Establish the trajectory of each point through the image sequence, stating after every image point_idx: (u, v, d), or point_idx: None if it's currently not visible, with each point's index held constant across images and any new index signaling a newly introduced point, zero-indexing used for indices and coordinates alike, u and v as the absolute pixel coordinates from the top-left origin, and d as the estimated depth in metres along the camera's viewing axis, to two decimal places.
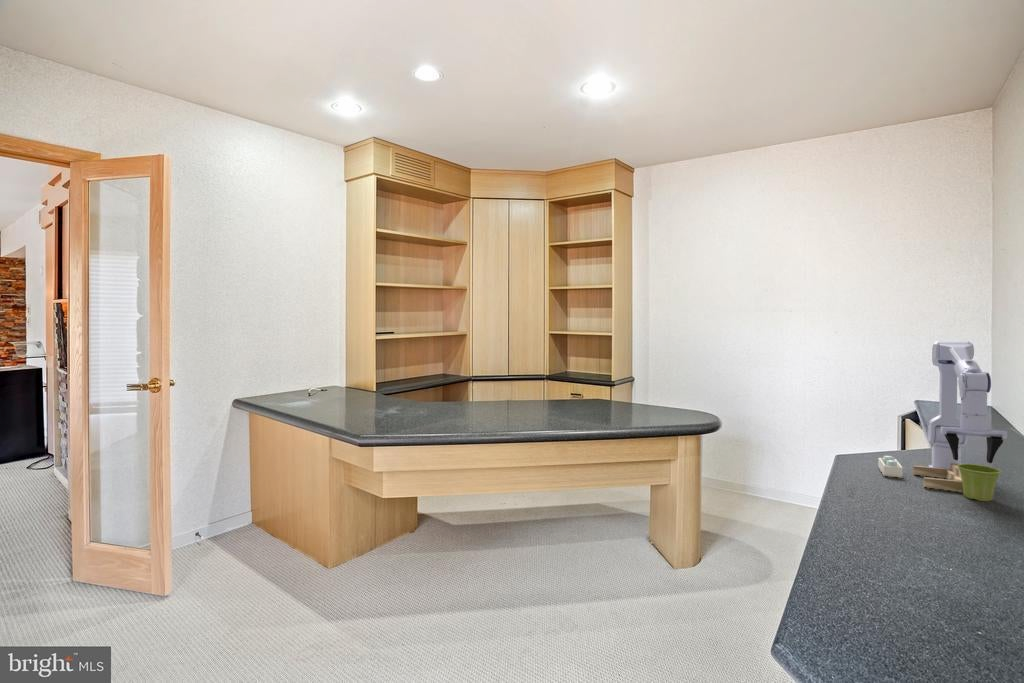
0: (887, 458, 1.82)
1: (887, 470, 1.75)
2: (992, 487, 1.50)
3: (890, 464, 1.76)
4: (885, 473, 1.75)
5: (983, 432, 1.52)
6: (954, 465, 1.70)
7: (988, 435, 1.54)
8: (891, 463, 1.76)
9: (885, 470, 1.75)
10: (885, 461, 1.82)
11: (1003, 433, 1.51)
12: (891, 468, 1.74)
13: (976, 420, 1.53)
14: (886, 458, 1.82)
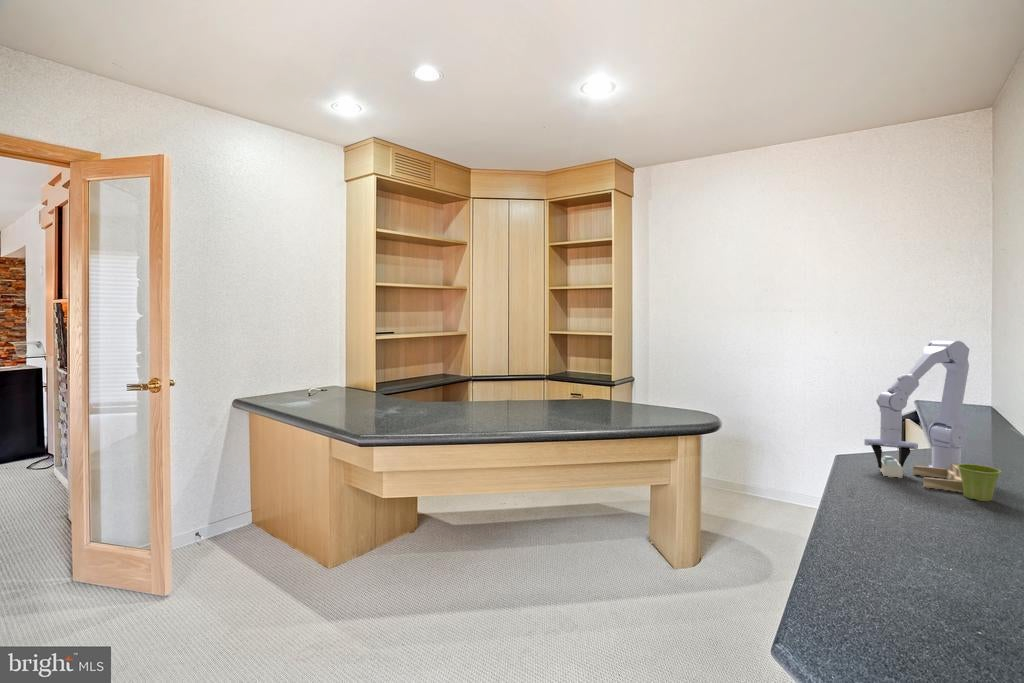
0: (887, 458, 1.81)
1: (887, 470, 1.75)
2: (992, 487, 1.50)
3: (890, 464, 1.76)
4: (885, 473, 1.75)
5: (898, 444, 1.76)
6: (954, 465, 1.70)
7: (903, 446, 1.78)
8: (891, 463, 1.76)
9: (885, 470, 1.75)
10: (885, 461, 1.82)
11: (915, 445, 1.75)
12: (891, 468, 1.74)
13: (891, 433, 1.77)
14: (886, 458, 1.82)
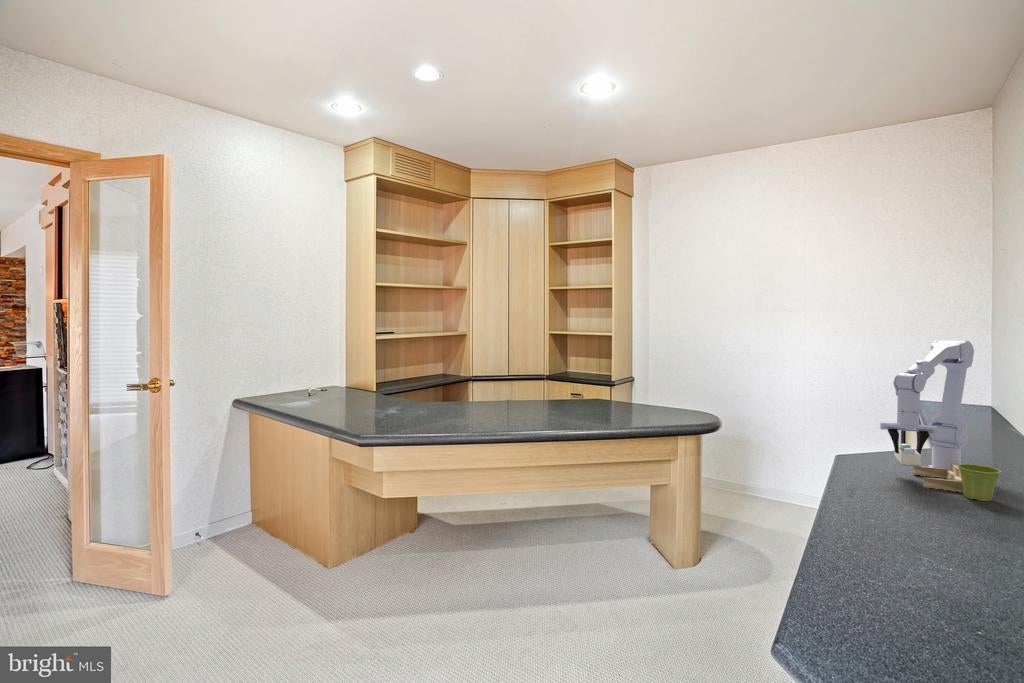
0: (904, 446, 1.74)
1: (905, 458, 1.67)
2: (992, 487, 1.50)
3: (907, 452, 1.68)
4: (902, 461, 1.67)
5: (916, 427, 1.68)
6: (954, 465, 1.70)
7: (921, 430, 1.70)
8: (909, 451, 1.68)
9: (902, 458, 1.67)
10: (902, 449, 1.74)
11: (934, 428, 1.67)
12: (909, 456, 1.67)
13: (909, 416, 1.69)
14: (903, 446, 1.74)
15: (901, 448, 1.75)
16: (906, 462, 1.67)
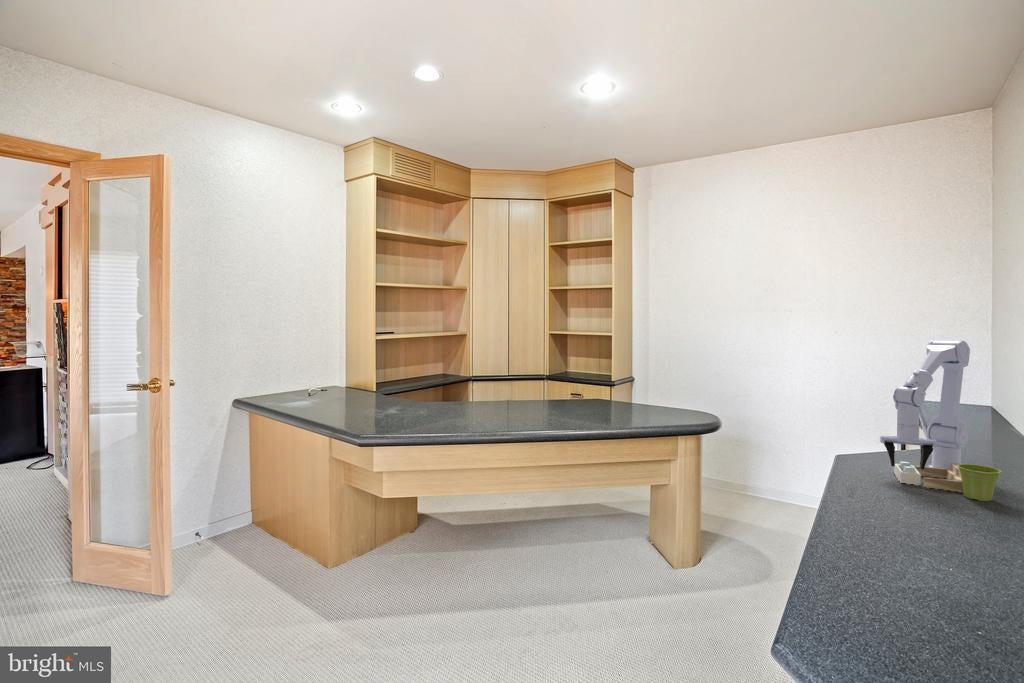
0: (904, 464, 1.74)
1: (904, 477, 1.67)
2: (992, 487, 1.50)
3: (907, 471, 1.68)
4: (902, 480, 1.68)
5: (916, 441, 1.68)
6: (954, 465, 1.70)
7: (921, 444, 1.70)
8: (908, 469, 1.68)
9: (902, 477, 1.68)
10: (901, 467, 1.74)
11: (933, 442, 1.68)
12: (908, 475, 1.67)
13: (909, 430, 1.69)
14: (902, 464, 1.74)
15: (901, 466, 1.75)
16: (906, 481, 1.67)
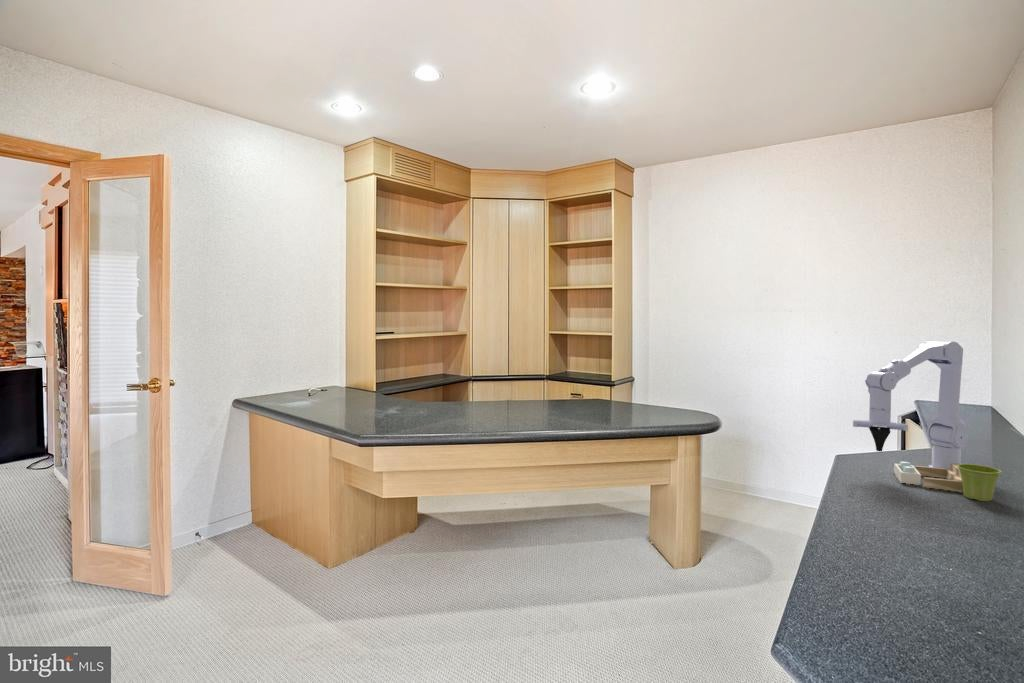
0: (904, 464, 1.74)
1: (904, 477, 1.67)
2: (992, 487, 1.50)
3: (907, 471, 1.68)
4: (902, 480, 1.68)
5: (887, 425, 1.72)
6: (954, 465, 1.70)
7: (892, 427, 1.73)
8: (908, 469, 1.68)
9: (902, 477, 1.68)
10: (901, 467, 1.74)
11: (904, 426, 1.71)
12: (908, 475, 1.67)
13: (880, 414, 1.72)
14: (902, 464, 1.74)
15: (901, 466, 1.75)
16: (906, 481, 1.67)
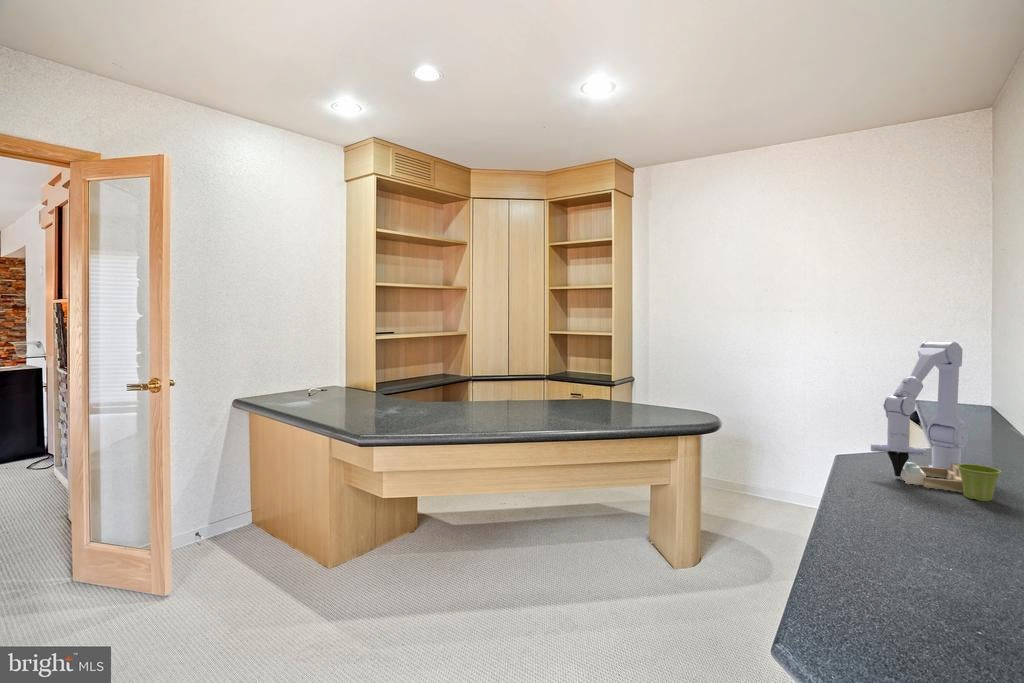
0: (909, 464, 1.73)
1: (910, 477, 1.67)
2: (992, 487, 1.50)
3: (912, 471, 1.67)
4: (907, 480, 1.67)
5: (906, 450, 1.70)
6: (954, 465, 1.70)
7: (911, 452, 1.71)
8: (914, 470, 1.67)
9: (907, 477, 1.67)
10: (907, 468, 1.74)
11: (923, 451, 1.69)
12: (914, 475, 1.66)
13: (899, 439, 1.70)
14: (908, 464, 1.73)
15: (906, 466, 1.74)
16: (911, 481, 1.67)
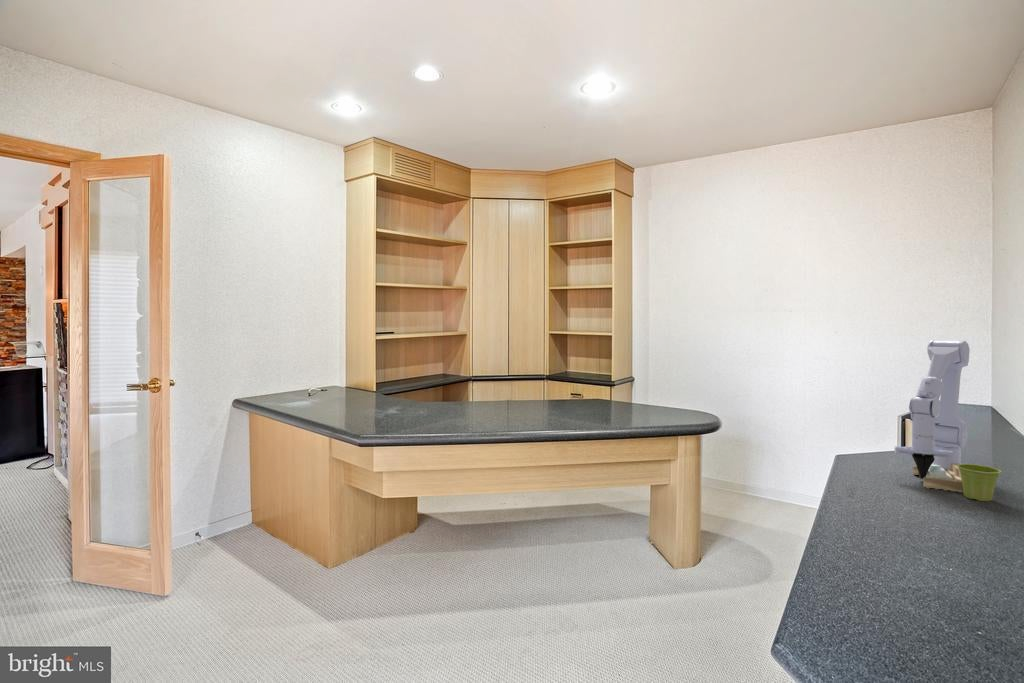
0: (934, 467, 1.70)
1: None
2: (992, 487, 1.50)
3: (938, 474, 1.64)
4: None
5: (931, 452, 1.67)
6: (954, 465, 1.70)
7: (936, 455, 1.68)
8: (940, 473, 1.64)
9: None
10: (932, 470, 1.71)
11: (949, 453, 1.66)
12: (940, 478, 1.63)
13: (924, 441, 1.67)
14: (933, 467, 1.70)
15: (931, 469, 1.71)
16: None
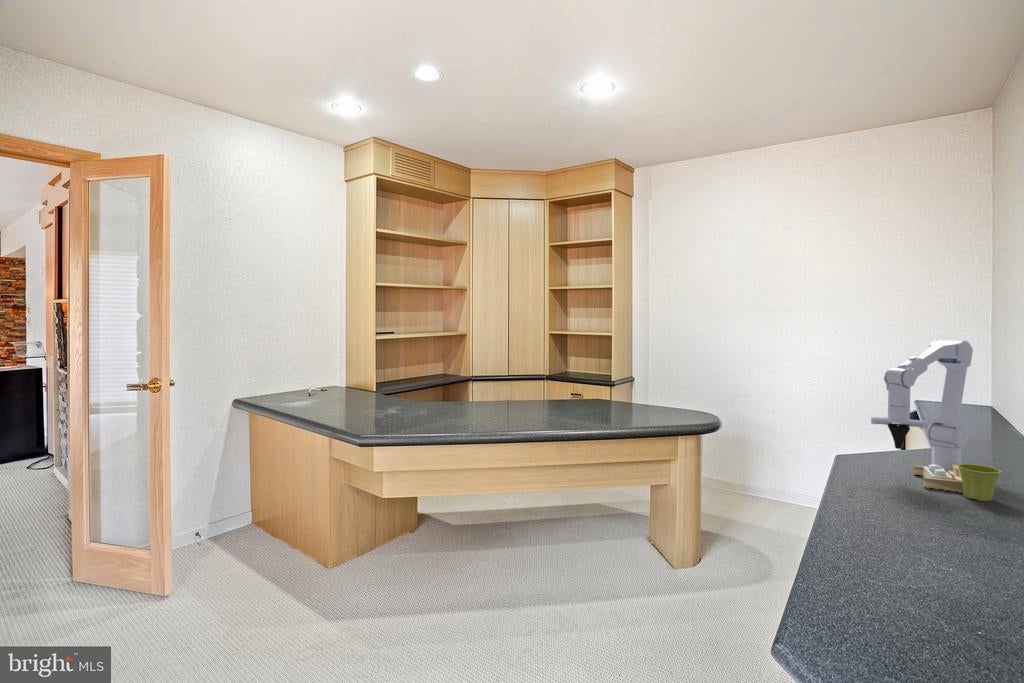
0: (934, 467, 1.70)
1: None
2: (992, 487, 1.50)
3: (938, 474, 1.64)
4: None
5: (906, 422, 1.69)
6: (954, 465, 1.70)
7: (911, 424, 1.71)
8: (940, 473, 1.64)
9: None
10: (931, 470, 1.71)
11: (924, 423, 1.69)
12: (940, 478, 1.63)
13: (900, 411, 1.70)
14: (933, 467, 1.70)
15: (931, 469, 1.71)
16: None
